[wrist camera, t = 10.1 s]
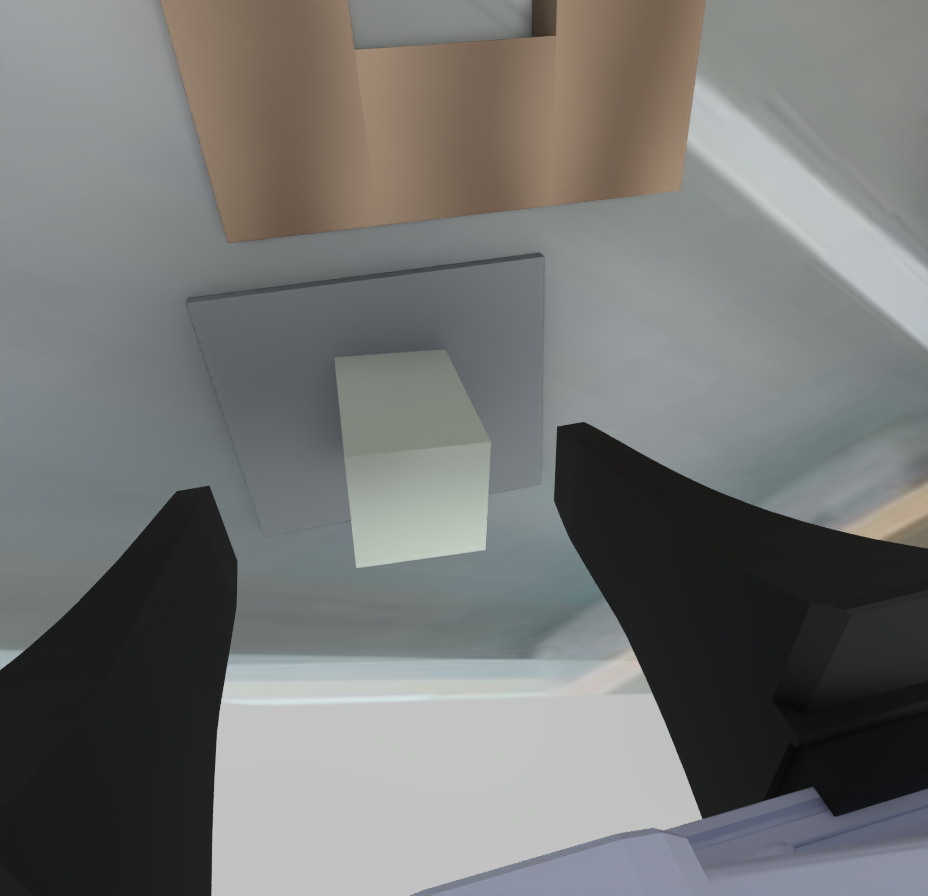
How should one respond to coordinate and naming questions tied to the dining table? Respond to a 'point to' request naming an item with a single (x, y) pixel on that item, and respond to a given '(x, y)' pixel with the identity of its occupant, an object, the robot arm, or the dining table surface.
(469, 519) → the sage part
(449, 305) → the rubber mat
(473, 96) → the pocket block
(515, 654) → the dining table surface
